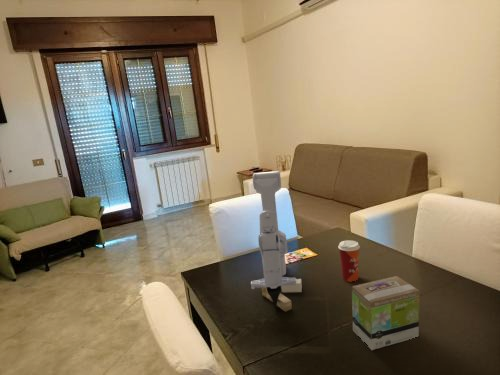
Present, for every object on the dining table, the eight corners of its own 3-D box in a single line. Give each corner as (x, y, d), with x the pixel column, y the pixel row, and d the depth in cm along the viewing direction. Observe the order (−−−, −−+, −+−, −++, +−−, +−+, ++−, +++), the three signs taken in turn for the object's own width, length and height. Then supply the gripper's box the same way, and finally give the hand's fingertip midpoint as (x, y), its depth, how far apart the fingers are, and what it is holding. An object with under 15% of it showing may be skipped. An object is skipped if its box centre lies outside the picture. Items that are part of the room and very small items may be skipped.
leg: (260, 294, 130) (259, 286, 129) (269, 290, 132) (268, 282, 131) (284, 312, 117) (283, 303, 117) (293, 308, 119) (292, 299, 118)
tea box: (372, 352, 97) (370, 302, 93) (352, 331, 106) (349, 285, 103) (420, 338, 100) (420, 289, 97) (396, 318, 110) (395, 273, 106)
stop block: (282, 288, 133) (281, 279, 132) (301, 287, 132) (301, 278, 131) (281, 292, 130) (281, 283, 129) (301, 292, 129) (300, 283, 128)
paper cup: (356, 285, 131) (354, 248, 128) (336, 280, 136) (334, 245, 133) (364, 276, 137) (363, 241, 134) (345, 272, 142) (343, 238, 139)
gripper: (249, 275, 113) (253, 314, 116) (295, 271, 113) (299, 311, 115) (249, 265, 120) (254, 303, 123) (293, 262, 119) (297, 299, 122)
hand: (275, 306), depth 120 cm, fingers closed
